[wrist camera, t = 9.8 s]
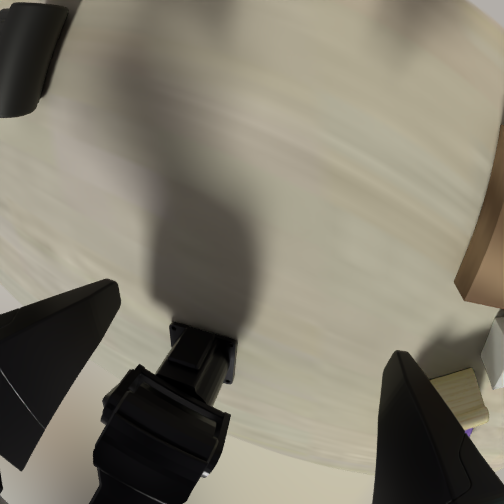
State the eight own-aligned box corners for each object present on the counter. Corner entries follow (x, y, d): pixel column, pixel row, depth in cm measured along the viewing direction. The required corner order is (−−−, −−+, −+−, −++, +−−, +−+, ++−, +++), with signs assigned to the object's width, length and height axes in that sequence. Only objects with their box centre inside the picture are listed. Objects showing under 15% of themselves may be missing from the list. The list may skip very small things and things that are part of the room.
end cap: (52, 111, 20) (-6, 123, 14) (19, 94, 20) (-31, 104, 14) (87, 10, 15) (27, 1, 9) (48, 7, 15) (-4, 3, 9)
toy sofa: (452, 447, 27) (456, 505, 19) (398, 460, 31) (396, 518, 22) (475, 360, 20) (499, 447, 12) (394, 382, 24) (398, 476, 15)
